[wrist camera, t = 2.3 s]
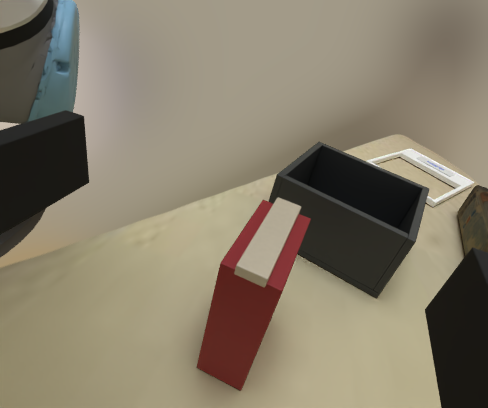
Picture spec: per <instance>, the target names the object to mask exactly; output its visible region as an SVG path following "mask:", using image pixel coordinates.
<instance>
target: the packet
mask: <svg viewBox="0 0 488 408" xmlns="http://www.w3.org/2000/svg"><path fill="white" fill-rule="evenodd" d="M300 210H301V206H299V205H296V204H294V203H291V202H289V201H286V200H284V199H281V198H279V197H278V198H277V199H276V201H275V202H274V204H273V203H270V202H268V201H265V200H263V201H262V202H261V204H260V205H259V207H258V208H257V210H256V211H255V213H254V214H253V216H252V217H251V219H250V220H249V222H248V223H247V224H246V226H245V227H244V229H243V230H242V232H241V233H240V235H239V236H238V238H237V239H236V241H235V242H234V244H233V245H232V247H231V248H230V250H229V251H228V253H227V254H226V256H225V257H224V259H223V260H222V262H221V263H220V268H219V272H218V276H217V281H216V285H215V289H214V294H213V298H212V303H211V307H210V311H209V316H208V320H207V324H206V329H205V333H204V337H203V342H202V346H201V350H200V355H199V359H198V363H197V368H199V369H200V370H202V371H204V372H206V373H208V374H210V375H212V376H214V377H216V378H217V379H219V380H221V381H223V382H225V383H227V384H229V385H231V386H233V387H235V388H236V389H238V390H240V391H241V390H242V387H243V385H244V382H245V380H246V378H247V375H248V373H249V370H250V368H251V366H252V363H253V361H254V358H255V356H256V354H257V351H258V349H259V346H260V344H261V342H262V339H263V337H264V334H265V332H266V330H267V327H268V325H269V322H270V320H271V318H272V315H273V313H274V310H275V308H276V306H277V303H278V301H279V299H280V296H281V294H282V291H283V289H284V286H285V284H286V281H287V279H288V276H289V274H290V271H291V268H292V266H293V263H294V261H295V258H296V256H297V253H298V251H299V248H300V246H301V243H302V240H303V238H304V235H305V233H306V230H307V228H308V225H309V223H310V220H311V219H310V218H308V217H305V216H303V215H300V214H299V212H300Z"/></svg>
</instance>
